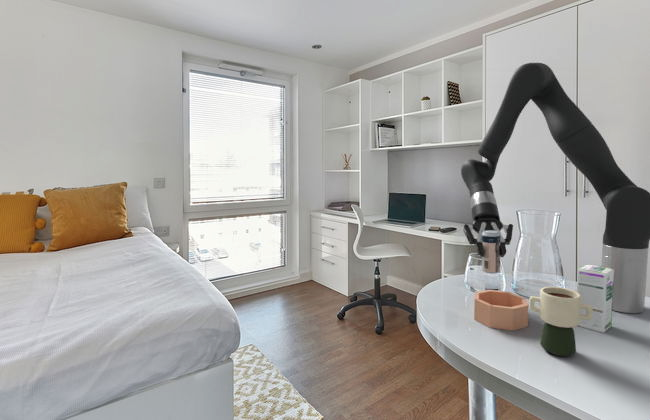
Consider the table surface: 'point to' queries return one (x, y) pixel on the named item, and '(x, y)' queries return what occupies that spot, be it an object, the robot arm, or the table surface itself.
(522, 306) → the terracotta bowl
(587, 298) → the syrup box
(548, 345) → the character mug
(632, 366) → the table surface
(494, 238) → the beer can
